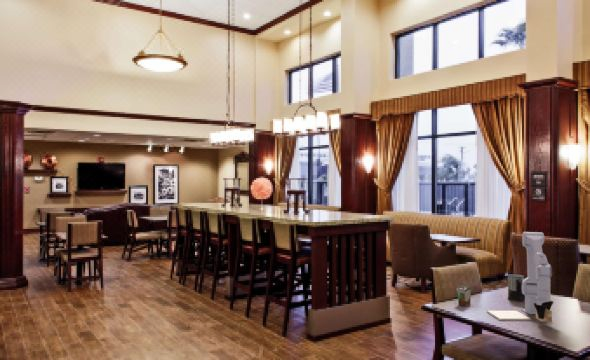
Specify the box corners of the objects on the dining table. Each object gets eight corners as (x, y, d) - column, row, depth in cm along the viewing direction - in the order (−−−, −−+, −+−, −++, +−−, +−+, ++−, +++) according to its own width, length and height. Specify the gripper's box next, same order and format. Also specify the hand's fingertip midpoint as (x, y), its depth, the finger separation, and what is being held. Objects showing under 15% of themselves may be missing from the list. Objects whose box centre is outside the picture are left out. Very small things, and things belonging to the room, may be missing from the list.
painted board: (516, 312, 234) (516, 310, 234) (530, 320, 220) (530, 318, 220) (487, 312, 234) (487, 310, 234) (499, 320, 220) (499, 318, 220)
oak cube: (545, 318, 215) (545, 308, 215) (551, 321, 210) (551, 311, 210) (535, 318, 215) (535, 308, 215) (541, 321, 210) (541, 311, 210)
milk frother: (503, 298, 263) (503, 274, 263) (524, 296, 267) (524, 272, 268) (522, 304, 249) (522, 279, 250) (543, 302, 254) (543, 277, 254)
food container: (460, 301, 256) (460, 284, 256) (471, 303, 252) (471, 286, 253) (453, 305, 247) (453, 288, 247) (464, 307, 243) (464, 290, 243)
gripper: (539, 285, 220) (539, 312, 220) (529, 290, 210) (529, 318, 210) (555, 288, 215) (555, 315, 215) (545, 293, 205) (545, 321, 205)
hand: (543, 316), depth 212 cm, fingers closed on oak cube, 7 cm apart
